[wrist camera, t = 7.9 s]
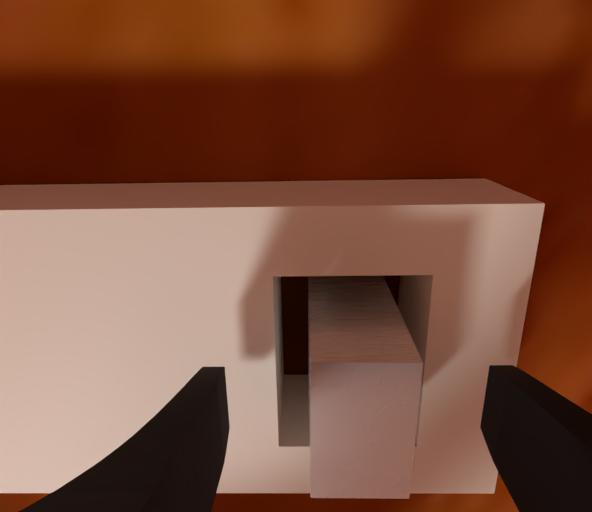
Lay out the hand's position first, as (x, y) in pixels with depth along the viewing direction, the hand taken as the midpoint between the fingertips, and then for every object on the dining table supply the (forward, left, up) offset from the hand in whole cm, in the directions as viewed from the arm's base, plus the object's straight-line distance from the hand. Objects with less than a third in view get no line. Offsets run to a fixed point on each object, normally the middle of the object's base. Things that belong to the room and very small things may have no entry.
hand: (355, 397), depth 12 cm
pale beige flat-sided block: (0, +6, -5) cm, 8 cm away
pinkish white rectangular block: (0, 0, -5) cm, 5 cm away
